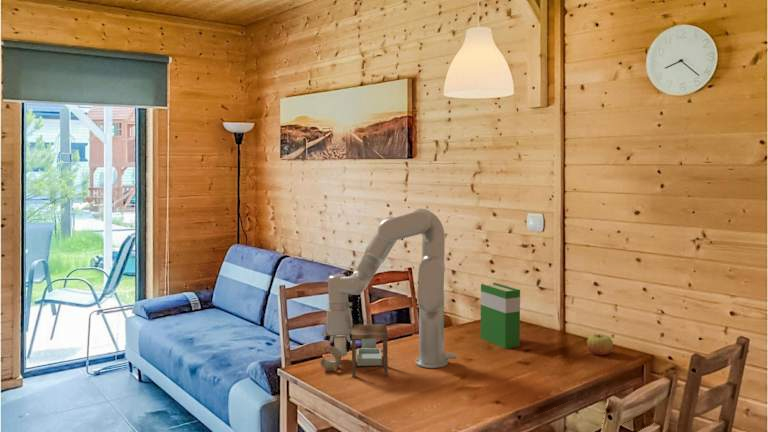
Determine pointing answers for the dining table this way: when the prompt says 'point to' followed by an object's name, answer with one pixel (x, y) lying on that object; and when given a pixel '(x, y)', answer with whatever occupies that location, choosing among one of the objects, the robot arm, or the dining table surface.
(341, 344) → the pale upright block
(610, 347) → the apple
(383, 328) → the small wooden stool
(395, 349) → the dining table surface
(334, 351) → the grey curved piece
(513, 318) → the hardback book
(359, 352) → the grey armchair
